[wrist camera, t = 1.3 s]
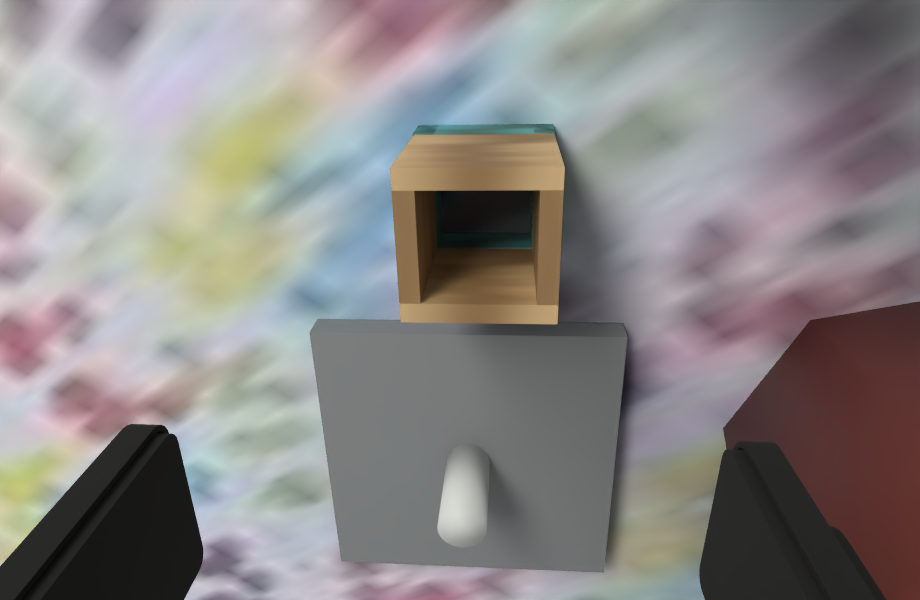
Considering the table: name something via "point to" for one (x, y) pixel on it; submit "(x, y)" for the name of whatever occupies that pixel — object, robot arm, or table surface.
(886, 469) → the bucket
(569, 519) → the pin board
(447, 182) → the wooden sleeve
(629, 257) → the table surface
